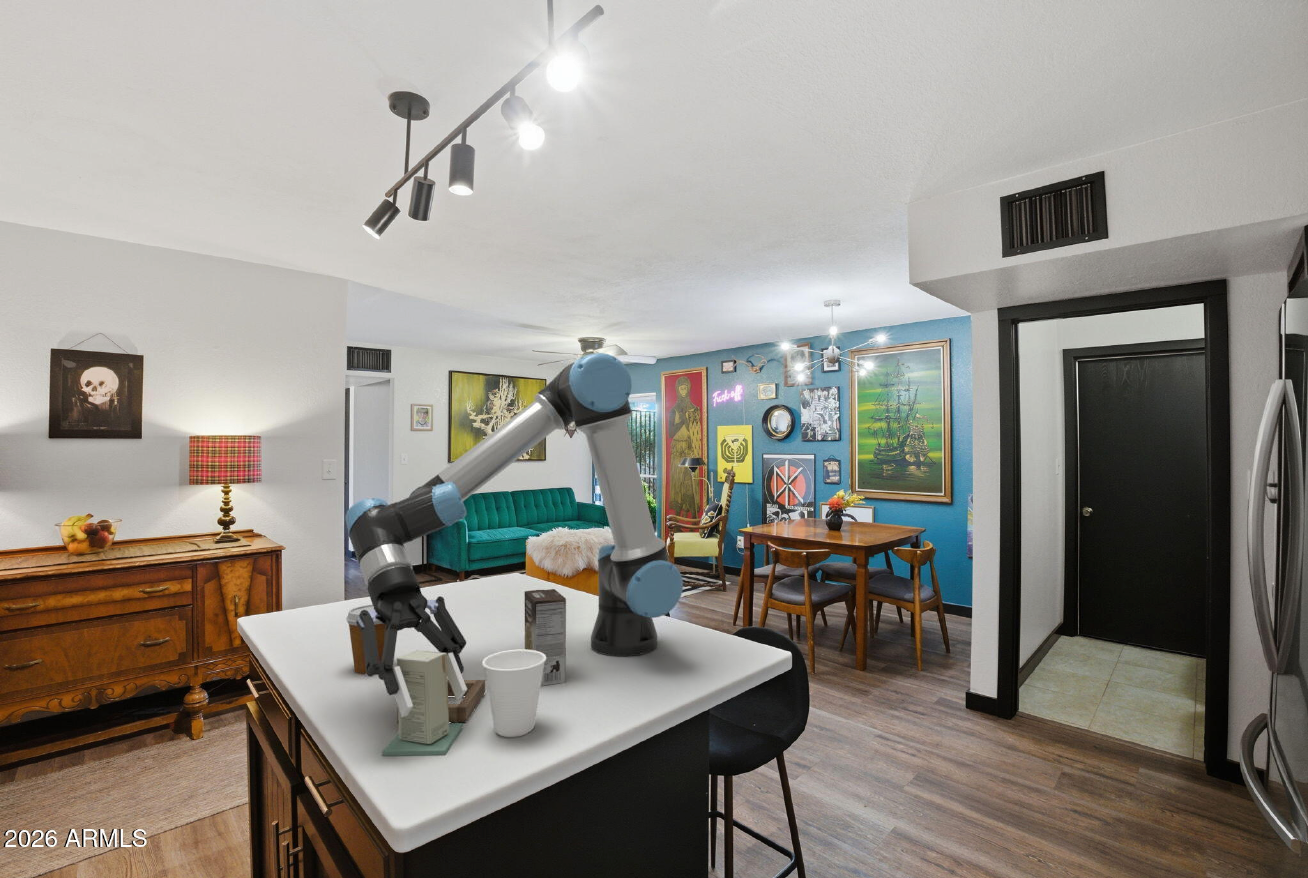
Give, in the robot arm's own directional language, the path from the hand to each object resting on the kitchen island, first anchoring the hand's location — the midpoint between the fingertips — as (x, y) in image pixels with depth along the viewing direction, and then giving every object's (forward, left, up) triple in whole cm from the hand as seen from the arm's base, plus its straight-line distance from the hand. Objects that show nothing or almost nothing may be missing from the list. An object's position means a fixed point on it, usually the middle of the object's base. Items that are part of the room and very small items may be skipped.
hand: (435, 702), depth 90 cm
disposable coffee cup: (+24, -34, -7) cm, 43 cm away
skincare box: (+3, -2, -6) cm, 7 cm away
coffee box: (-12, -28, -7) cm, 31 cm away
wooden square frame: (+3, -14, -7) cm, 16 cm away
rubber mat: (+2, -2, -7) cm, 7 cm away
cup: (-10, -6, -7) cm, 14 cm away
